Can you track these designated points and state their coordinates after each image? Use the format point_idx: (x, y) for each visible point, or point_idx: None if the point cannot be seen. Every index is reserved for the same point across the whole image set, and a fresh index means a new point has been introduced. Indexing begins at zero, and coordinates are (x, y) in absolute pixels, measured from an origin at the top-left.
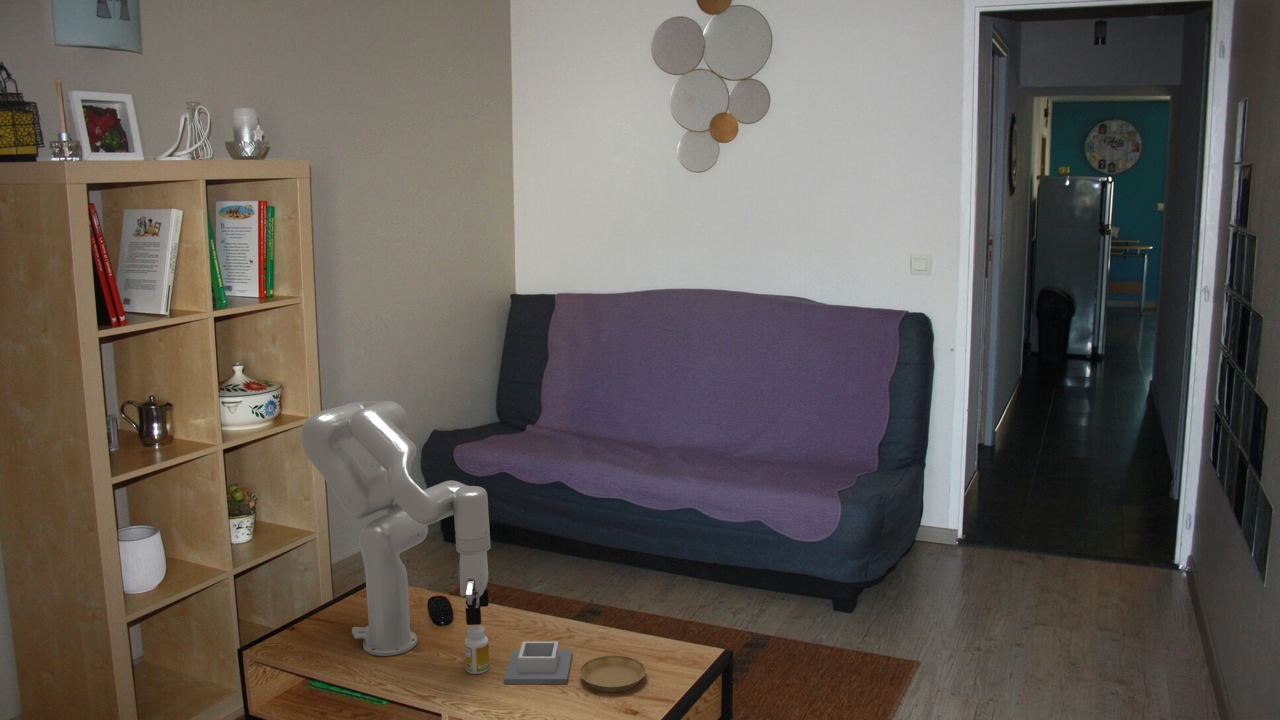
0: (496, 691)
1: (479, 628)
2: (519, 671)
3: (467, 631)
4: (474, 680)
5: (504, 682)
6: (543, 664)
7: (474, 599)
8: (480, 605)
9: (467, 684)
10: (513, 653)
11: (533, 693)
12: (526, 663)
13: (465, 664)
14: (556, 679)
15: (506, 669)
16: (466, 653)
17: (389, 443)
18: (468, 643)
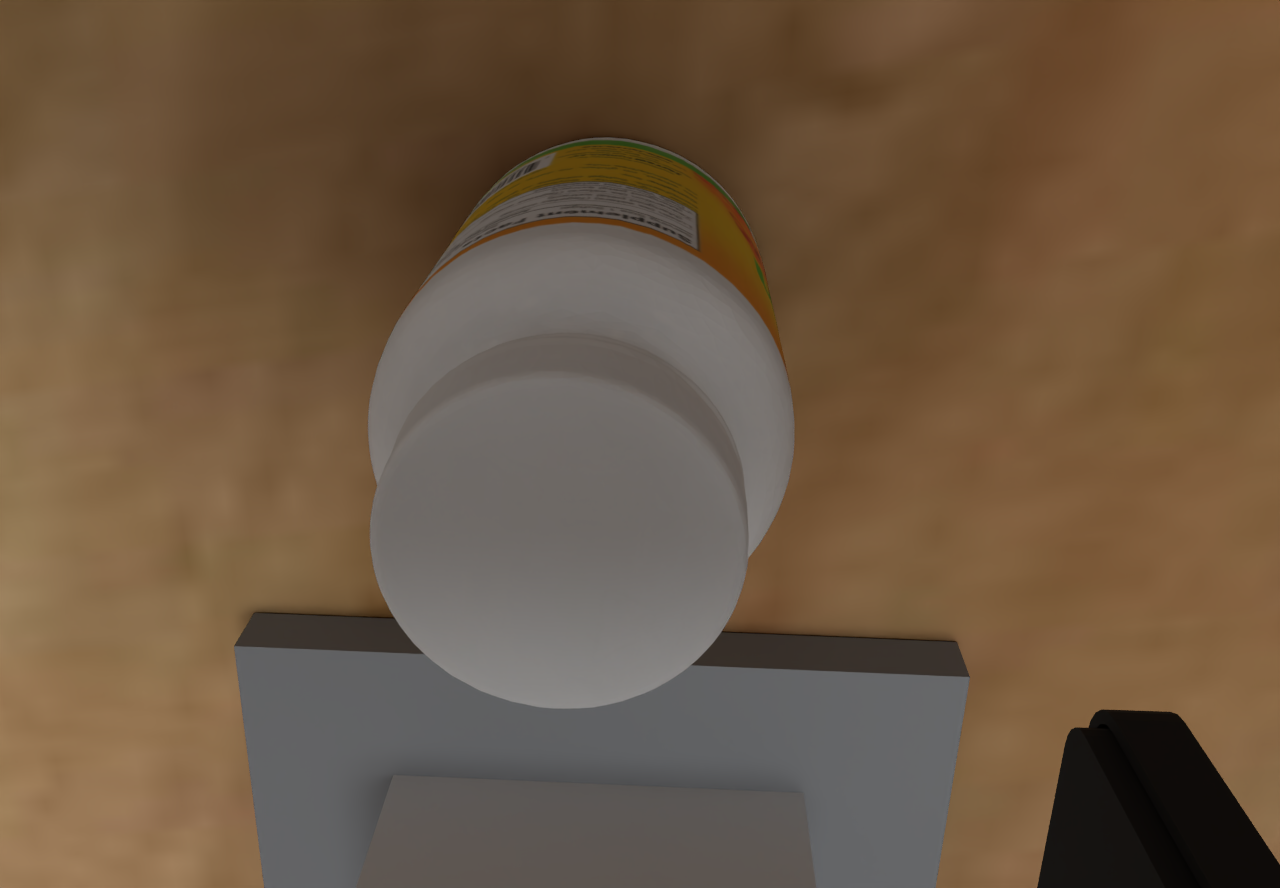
0: (89, 557)
1: (592, 616)
2: (389, 794)
3: (466, 389)
4: (311, 288)
5: (247, 631)
6: None
7: (1163, 880)
8: (1054, 875)
9: (203, 216)
10: (867, 694)
11: (108, 874)
12: None
13: (555, 155)
14: None
15: None
16: (464, 236)
17: None
18: (402, 340)
